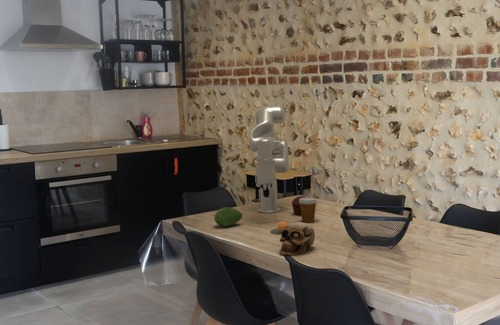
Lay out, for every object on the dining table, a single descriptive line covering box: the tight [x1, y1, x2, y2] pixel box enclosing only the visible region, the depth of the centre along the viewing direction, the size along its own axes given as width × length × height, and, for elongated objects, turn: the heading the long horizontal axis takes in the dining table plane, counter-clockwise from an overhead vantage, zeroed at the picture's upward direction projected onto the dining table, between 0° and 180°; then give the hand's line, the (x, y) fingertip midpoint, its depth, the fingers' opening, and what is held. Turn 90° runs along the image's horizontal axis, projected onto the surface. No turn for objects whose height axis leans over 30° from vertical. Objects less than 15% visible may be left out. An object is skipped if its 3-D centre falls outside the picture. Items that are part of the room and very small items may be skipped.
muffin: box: [291, 195, 306, 217], centre depth 351 cm, size 12×11×10 cm
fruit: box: [214, 206, 243, 228], centre depth 330 cm, size 15×10×10 cm, turn 115°
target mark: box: [269, 228, 282, 236], centre depth 314 cm, size 12×12×1 cm
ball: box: [276, 221, 288, 233], centre depth 311 cm, size 6×6×6 cm
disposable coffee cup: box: [299, 196, 318, 223], centre depth 334 cm, size 10×10×12 cm
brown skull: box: [279, 221, 316, 257], centre depth 279 cm, size 16×17×13 cm
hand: (266, 196), depth 332 cm, fingers closed
